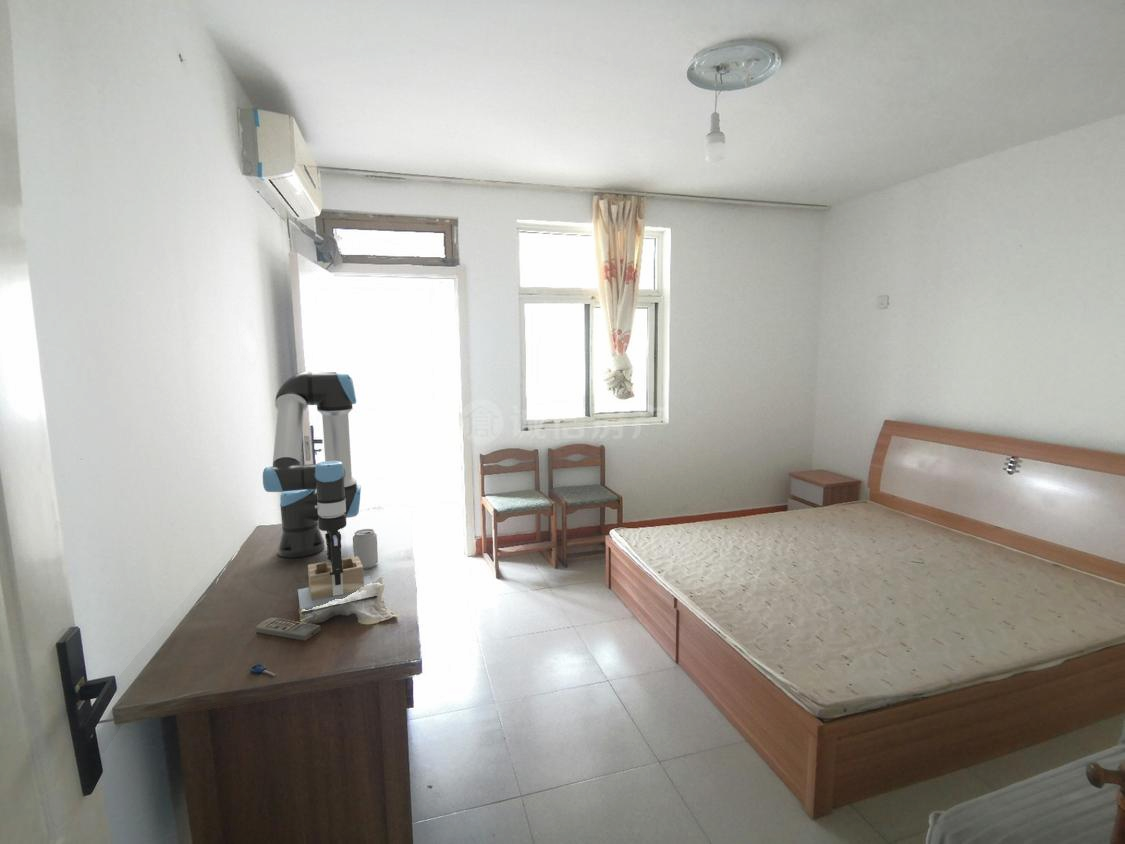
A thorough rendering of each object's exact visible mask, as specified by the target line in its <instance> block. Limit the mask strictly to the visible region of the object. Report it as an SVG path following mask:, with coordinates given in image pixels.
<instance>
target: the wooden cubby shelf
mask: <svg viewBox="0 0 1125 844" xmlns="http://www.w3.org/2000/svg"><path fill="white" fill-rule="evenodd" d="M342 568H343V573H342V576H343V594H346V593H351V592H356V591H357V590H359V589H360V588H361V587H364V577H365V576H364V569H363V566H362V564H361V561H360V559H359V557H358V556H355V557H354V556H350V557H345V558H342ZM336 570H337V569H336ZM331 572H332V562H331V561H330V560H327V561H322V562H316V563H311V564H307V573H308V574H307V575H308V587H309V589H310V594H311V600H317V599H322V598H327V597H332V596H333V586H332V575H330V573H331ZM336 596H337V595H336Z"/></svg>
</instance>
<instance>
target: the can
mask: <svg viewBox="0 0 1125 844" xmlns="http://www.w3.org/2000/svg"><path fill="white" fill-rule="evenodd" d="M352 549H353V551H352V552H353V557H355V556H358V557H359V559H360V561H361V564H362V566H363V570H368V569H372V568H375V567H376V565H377V564H378V562H379V555H378V554H379V553H378V535H377V533H376V532H375V530H374V529H373V528H364V529H363V528H362V529H357V530H356V531H355V532H354V535H353V536H352Z"/></svg>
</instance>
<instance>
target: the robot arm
mask: <svg viewBox="0 0 1125 844" xmlns="http://www.w3.org/2000/svg"><path fill="white" fill-rule="evenodd" d="M354 386H355V385H354V381H353V377H352V375H351V373H350V372H348V371H338V370H335V371H301V372H298V373H295V374H293V375H292V376H290V377H289V378H288V379H286V380H285V381H284V382H283V384H282V385H280V386H279V389H278V391H277V393H276V396H275V398H274V399H275V401H274V407H275V408H276V410H277V414H276V416H277V418H276V427H275V434H274V435H275V436H274V446H273V455H272V456H273V457H272V466H268V467H265V468H264V469H263V471H262V486H263V489H264V490H265V492H267V493H281V494H280V502H279V503H280V504H279V507H280V515H281V529H282V530H281V536H280V540H279V544H278V546H277V547H278V548H277V553H278V556H280V557H281V558H290V559H291V558H292V559H293V558H303V557H307V556H311V555H315V554H318V553H320V552H321V550H322V551H323V550H324V549H325V548H324V547H326V549H327V550H326V551H327V552H326V556H327V561H331V562H332V572H331V573H330V575H332V586H333V596H336V595H341V594H343V576H342V573H343V568H342V559H343V558H342V534H341V532H340V531H339V530H341V529H344V528H346V527H347V518H348V519H349V518H354V517H356V516H358V514H359V513H360V505H361V503H360V502H361V493H362V492H361V490H362V487H361V485H360V484H358V483H357V479H355V478H354V477H353V476H352V475H353V474H352V473H353V472H352V461H351V460H352V457H351V439H350V423H349V422H350V421H349V413H350V412H351V411H352V410H353V405H355V404H357V398H356V391H355V387H354ZM308 406H316V411H318V412H319V413H320V414H321V417H322V419H321V420H322V432H323V445H324V449H323V450H324V461H321V462H318V463H313V464H312V463H311V464H302V463H301V462H302V447H303V446H302V444H303V442H302V441H303V426H304V425H303V423H304V412H305V411H306V410H307V408H308ZM322 532H326V533H325V535H324V536H325V539H324V537H323V534H322ZM325 542H326V545H325ZM336 569H337V570H336Z"/></svg>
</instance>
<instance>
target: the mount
mask: <svg viewBox="0 0 1125 844" xmlns="http://www.w3.org/2000/svg"><path fill="white" fill-rule="evenodd" d="M370 583H373V581H372V579H371V576H370V575H365V576H364V586H365V585H367V584H370ZM352 593H354V592H351V593H346V594H341V595H337V596H332V597H327V598H322V599H317V600H311V594H310V589H309V586H307V587H304V588H299V589H297V596H298V604H299V605H298V606H299V611H300V612H301V610H302V609H305V610H309V609H312V608H313V607H316V606H320V605H323V604H326V603H328V602H329V601H332V600H335V599H343V598H345V597H347V596H348V595H350V594H352ZM300 612H299V613H300Z"/></svg>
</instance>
